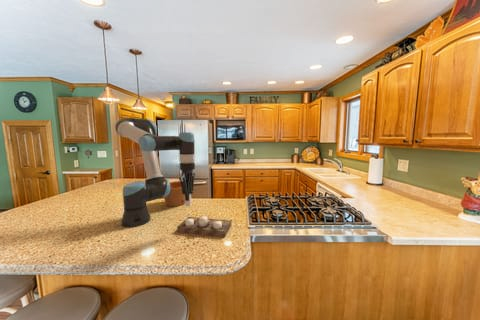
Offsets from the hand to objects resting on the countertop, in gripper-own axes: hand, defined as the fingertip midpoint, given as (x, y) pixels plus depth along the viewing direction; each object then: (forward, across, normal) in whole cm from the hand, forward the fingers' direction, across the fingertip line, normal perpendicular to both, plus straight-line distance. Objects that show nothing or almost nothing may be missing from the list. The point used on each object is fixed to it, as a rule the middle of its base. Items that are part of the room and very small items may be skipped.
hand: (188, 205), depth 101 cm
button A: (+12, 0, -1) cm, 12 cm away
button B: (+10, 0, -9) cm, 13 cm away
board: (+13, +2, -9) cm, 16 cm away
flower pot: (+14, +37, +29) cm, 49 cm away
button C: (+12, 0, -17) cm, 20 cm away
